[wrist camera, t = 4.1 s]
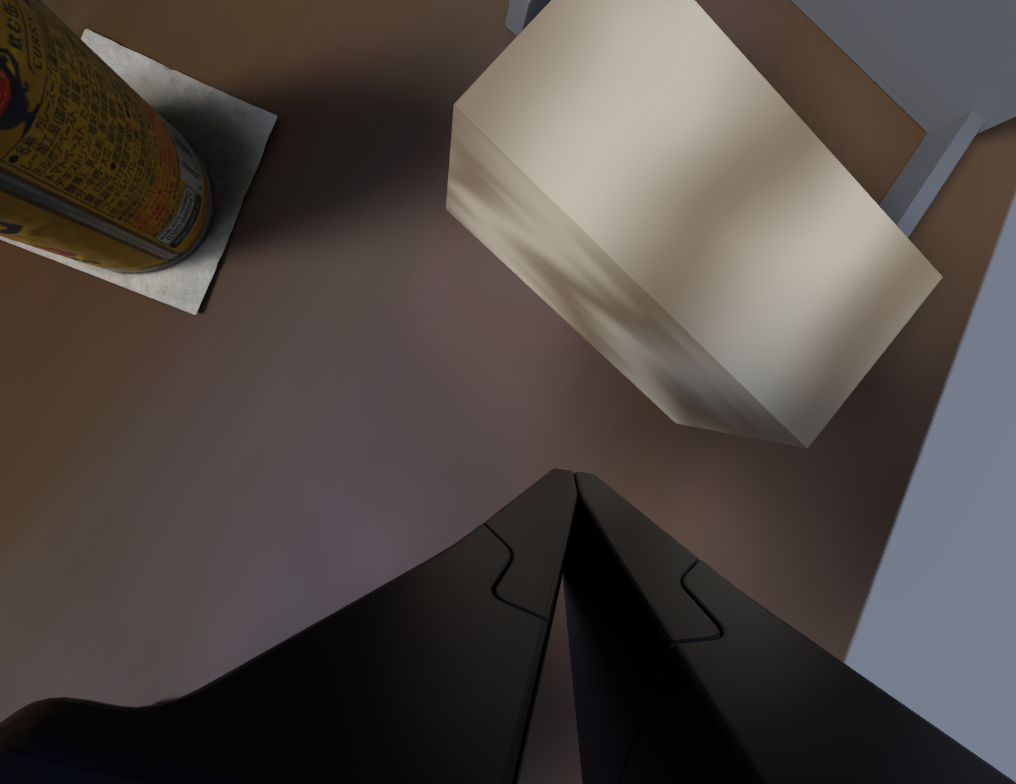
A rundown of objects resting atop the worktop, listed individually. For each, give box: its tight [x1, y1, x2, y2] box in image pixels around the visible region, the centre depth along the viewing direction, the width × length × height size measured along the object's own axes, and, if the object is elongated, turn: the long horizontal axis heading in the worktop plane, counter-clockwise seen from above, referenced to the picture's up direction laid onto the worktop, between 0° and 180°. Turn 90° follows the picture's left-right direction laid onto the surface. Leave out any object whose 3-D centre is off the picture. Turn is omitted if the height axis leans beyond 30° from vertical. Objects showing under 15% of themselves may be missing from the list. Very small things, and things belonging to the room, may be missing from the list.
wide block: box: [446, 0, 942, 448], centre depth 18 cm, size 14×7×8 cm, turn 49°
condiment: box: [0, 0, 278, 315], centre depth 13 cm, size 7×8×12 cm
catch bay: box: [505, 0, 1016, 238], centre depth 19 cm, size 11×20×6 cm, turn 54°
